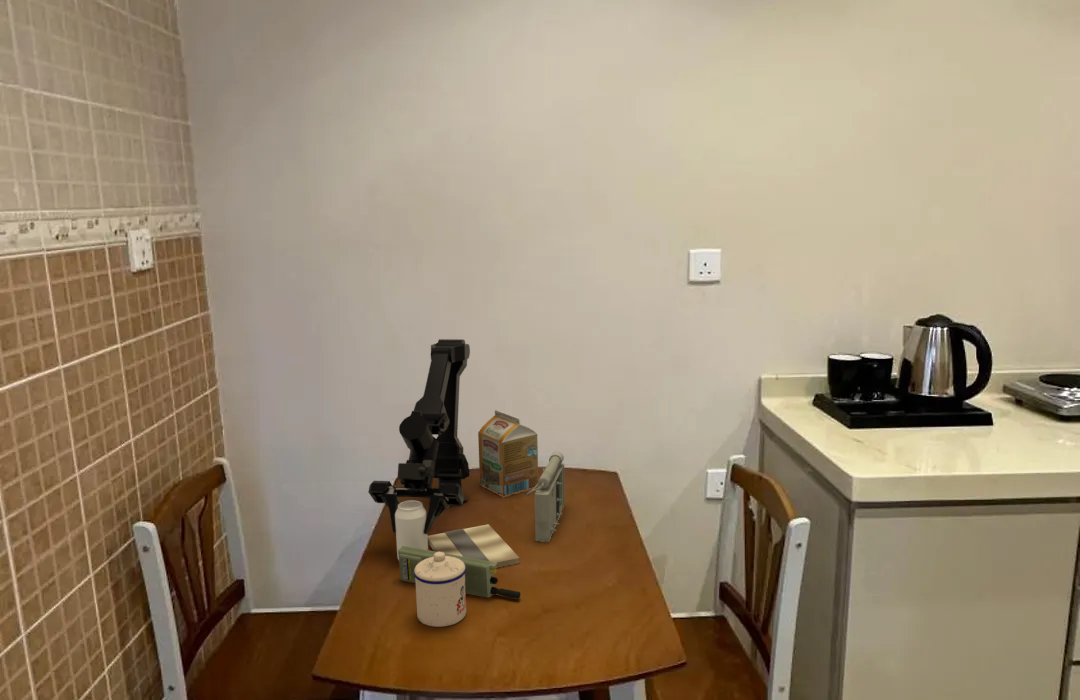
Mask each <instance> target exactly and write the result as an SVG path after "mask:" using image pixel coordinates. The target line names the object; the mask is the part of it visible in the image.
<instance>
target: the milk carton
mask: <svg viewBox="0 0 1080 700" xmlns="http://www.w3.org/2000/svg"><path fill="white" fill-rule="evenodd" d="M477 436H478V438H477V439H478V464H479V465H478V468H479V469H478V470H479V485H480V484H481V485H484V486H485V487H487V488H489V489H491V490H493V491H495V492H497V493H498V494H501V495H503V496H505V495H509V494H512V493H515V492H519V491H522V490H526V489H529V488H532V487H535V486H536V485H537V484H538V481H539V456H538V455H539V451H538V450H539V449H538V448H539V446H538V443H539V442H538V433H537V432H536V431H535V430H533V429H532V428H530V427H527V426H525V425H523V424H521V419H520V418H519V417H517V416H515V415H511V414H509V413H506V412H503V411H500V410H498V409H495V410H494V415H493V416H492V417H491V418H490V419H489V420H487V421H486V423H484V425H483V426H481V428H480V429H479V431H478V435H477Z"/></svg>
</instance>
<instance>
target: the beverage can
mask: <svg viewBox="0 0 1080 700" xmlns="http://www.w3.org/2000/svg"><path fill="white" fill-rule="evenodd" d="M399 503H400V504H398V509H397V511H396V513H395V525H396V533H395V535H396V536H395V539H396V540H395V541H396V553H397V555H396V557H397V560H398V561H399V554H398V550H399V549H400V548H401V547H402V546H407V547H412V548H418V549H423V550H429V544H428V537H427V536H428V534H425V533H424V529H425V523H426V519H427V510H426V509H425V507H424V505H423V502H422V501H419V500H415V499H414V500H413V499H409V500H405V501H402V502H399Z"/></svg>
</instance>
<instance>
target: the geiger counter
mask: <svg viewBox="0 0 1080 700" xmlns="http://www.w3.org/2000/svg"><path fill="white" fill-rule="evenodd" d="M564 459H565V458H564V454H563V452H561V451H557V450H556V451H553V452H552V454H551V455H550V456H549V459H548V463H547V465H546V467H544V468H542V474H541V475H540V477H539V478H538V484H537V485H536V486H535V487H534V488H533V489H532V490H529V491H527V493H525V496H526V497H528V496H530V495H531V494H532V493H533V492H534V514H535V515H534V522H535V523H534V529H535V530H534V533H535V535H534V537H535V538H534V539H535V542H538V541H540V543H550V541H551V539H552V537H553V535H552V534H554V532H557V531H558V530H557V529H556V528H555V527H557V526H558V525H560V523H559V521H560V519H559V518H561V516H562V515H563V514H564V513H563V512H561V511H562V508H563V506H566V505H565V502H566V501H565V499H566V498H565V488H566V487H565V463H563V462H564ZM537 487H538V488H537ZM561 513H562V514H561ZM560 515H561V516H560ZM558 520H559V521H558ZM551 536H552V537H551Z"/></svg>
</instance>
